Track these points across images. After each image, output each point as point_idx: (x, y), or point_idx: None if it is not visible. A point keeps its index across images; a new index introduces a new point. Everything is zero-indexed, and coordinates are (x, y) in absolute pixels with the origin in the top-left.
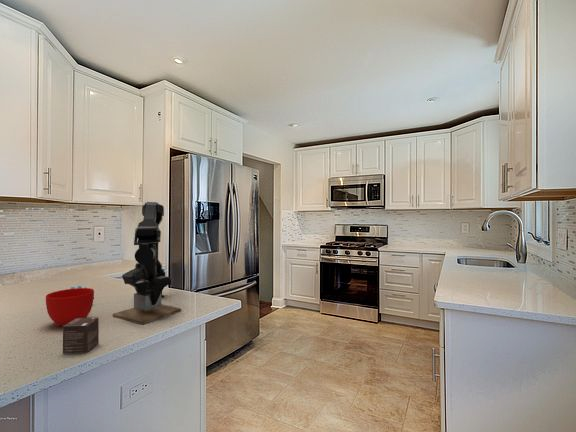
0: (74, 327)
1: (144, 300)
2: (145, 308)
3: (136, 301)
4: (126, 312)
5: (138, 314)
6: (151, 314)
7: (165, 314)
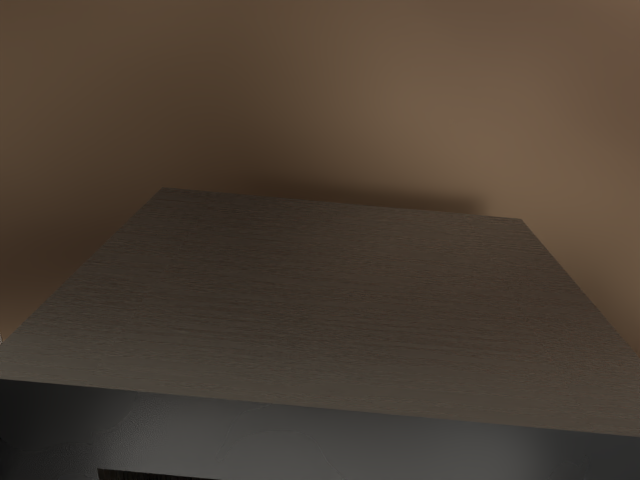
0: None
1: (108, 289)
2: (149, 204)
3: (472, 281)
4: (611, 119)
5: (310, 130)
6: (123, 216)
7: (6, 312)
